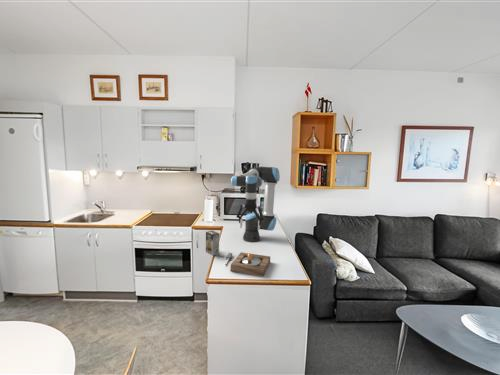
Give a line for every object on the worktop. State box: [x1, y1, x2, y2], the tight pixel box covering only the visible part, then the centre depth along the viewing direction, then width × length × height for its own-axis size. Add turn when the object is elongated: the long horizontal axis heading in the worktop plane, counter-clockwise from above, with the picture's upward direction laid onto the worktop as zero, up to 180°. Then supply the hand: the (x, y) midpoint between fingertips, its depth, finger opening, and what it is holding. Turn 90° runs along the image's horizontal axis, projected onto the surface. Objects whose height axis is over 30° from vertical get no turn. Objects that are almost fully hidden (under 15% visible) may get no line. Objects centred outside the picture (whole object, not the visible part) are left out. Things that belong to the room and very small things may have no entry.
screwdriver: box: [224, 252, 233, 266], centre depth 182 cm, size 17×3×2 cm, turn 173°
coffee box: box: [205, 230, 220, 256], centre depth 193 cm, size 9×6×16 cm
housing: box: [230, 251, 271, 277], centre depth 174 cm, size 22×22×5 cm
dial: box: [242, 253, 261, 266], centre depth 173 cm, size 13×13×8 cm
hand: (249, 228), depth 178 cm, fingers open, 12 cm apart
